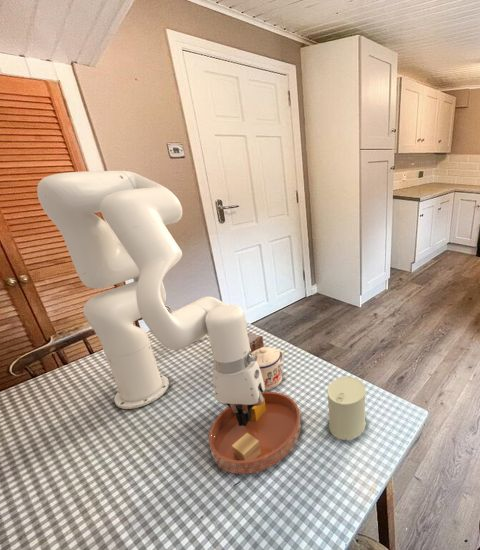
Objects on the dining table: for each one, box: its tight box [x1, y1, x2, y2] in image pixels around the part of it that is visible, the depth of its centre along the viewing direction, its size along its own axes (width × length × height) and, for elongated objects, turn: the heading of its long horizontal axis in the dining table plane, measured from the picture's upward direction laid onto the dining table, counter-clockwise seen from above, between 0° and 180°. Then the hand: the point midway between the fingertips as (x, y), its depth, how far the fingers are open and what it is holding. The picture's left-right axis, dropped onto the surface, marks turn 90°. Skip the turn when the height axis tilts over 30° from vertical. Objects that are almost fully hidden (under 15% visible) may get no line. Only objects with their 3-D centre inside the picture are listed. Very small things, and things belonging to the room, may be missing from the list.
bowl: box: [208, 391, 302, 475], centre depth 72 cm, size 20×20×4 cm
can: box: [326, 376, 367, 441], centre depth 74 cm, size 9×9×12 cm
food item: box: [248, 332, 265, 352], centre depth 100 cm, size 14×8×10 cm, turn 73°
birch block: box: [232, 433, 261, 461], centre depth 67 cm, size 4×4×4 cm
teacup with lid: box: [252, 346, 284, 391], centre depth 90 cm, size 12×9×12 cm
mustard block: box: [251, 399, 266, 421], centre depth 78 cm, size 4×4×4 cm
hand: (245, 421), depth 74 cm, fingers closed
